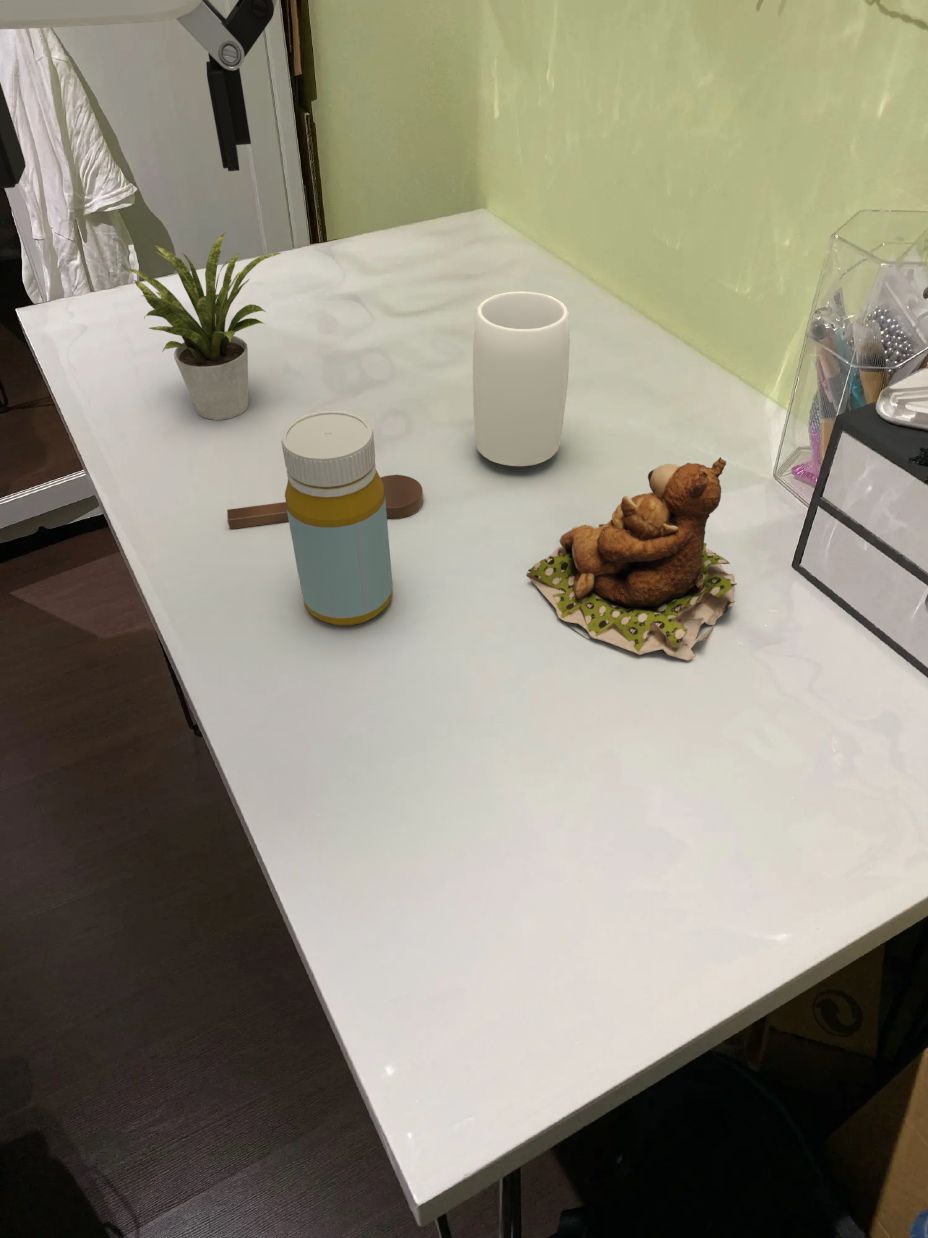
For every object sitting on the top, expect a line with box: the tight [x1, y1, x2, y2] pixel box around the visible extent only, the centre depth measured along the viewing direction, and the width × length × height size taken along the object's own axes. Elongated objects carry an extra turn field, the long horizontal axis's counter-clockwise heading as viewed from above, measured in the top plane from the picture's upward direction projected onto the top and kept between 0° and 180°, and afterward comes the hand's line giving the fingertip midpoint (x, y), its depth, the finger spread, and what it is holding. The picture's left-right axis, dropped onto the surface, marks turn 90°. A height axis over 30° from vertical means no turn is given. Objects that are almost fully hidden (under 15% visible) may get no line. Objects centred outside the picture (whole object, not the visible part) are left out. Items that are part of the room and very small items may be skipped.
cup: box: [472, 291, 571, 467], centre depth 81 cm, size 8×8×14 cm
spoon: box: [226, 474, 424, 530], centre depth 79 cm, size 17×5×1 cm, turn 102°
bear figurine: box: [525, 456, 738, 662], centre depth 67 cm, size 14×15×12 cm
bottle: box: [280, 410, 393, 627], centre depth 66 cm, size 7×7×15 cm
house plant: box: [122, 232, 282, 421], centre depth 88 cm, size 14×14×16 cm
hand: (124, 169), depth 42 cm, fingers open, 9 cm apart
